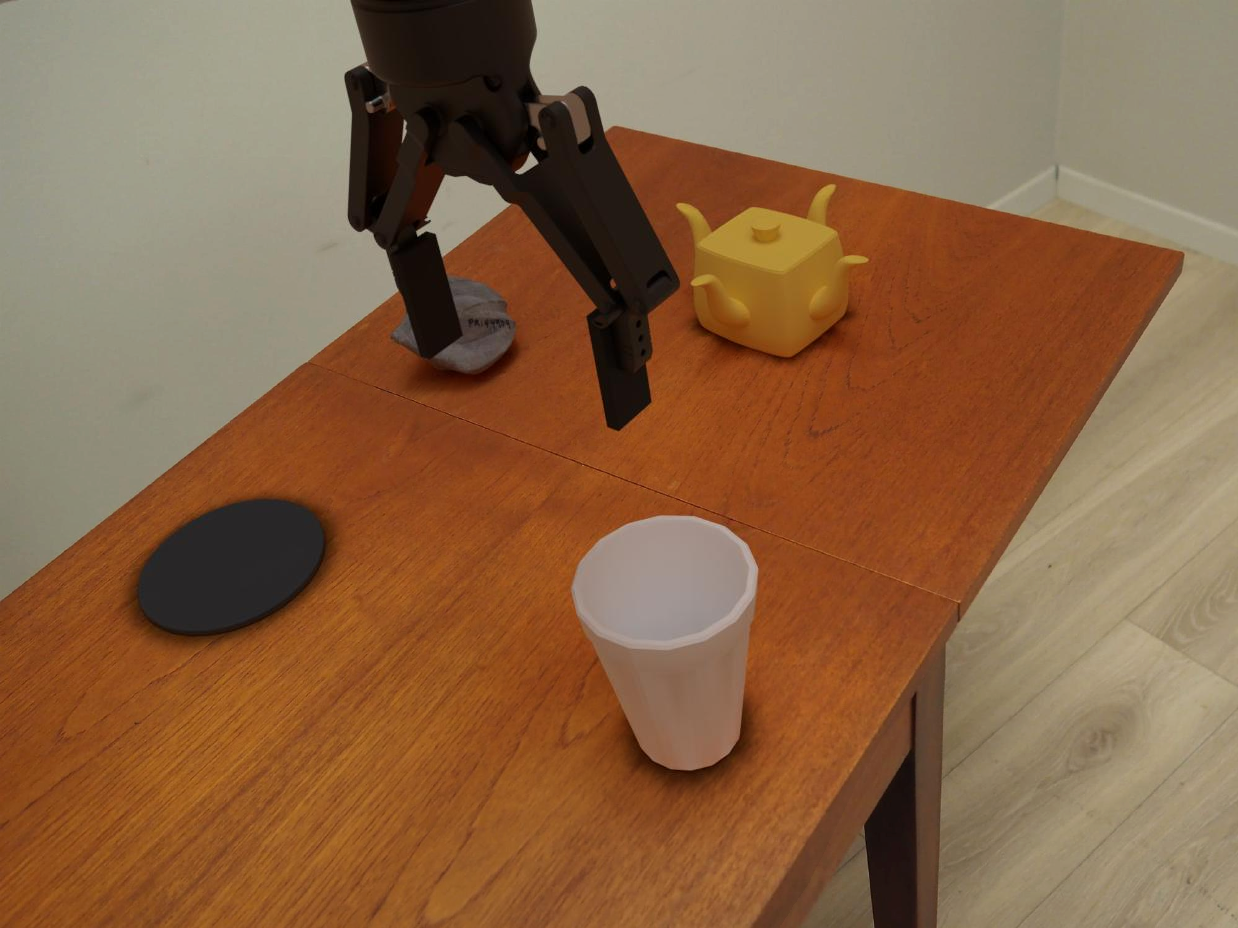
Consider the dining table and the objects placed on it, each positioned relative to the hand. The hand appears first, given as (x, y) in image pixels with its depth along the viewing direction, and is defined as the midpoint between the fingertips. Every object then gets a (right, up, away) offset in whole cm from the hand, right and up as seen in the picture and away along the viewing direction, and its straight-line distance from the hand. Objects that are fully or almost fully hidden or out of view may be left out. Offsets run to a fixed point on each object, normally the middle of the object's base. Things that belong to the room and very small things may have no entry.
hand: (530, 378), depth 62 cm
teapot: (+18, +8, +41) cm, 45 cm away
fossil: (-9, +4, +43) cm, 44 cm away
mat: (-24, -12, +25) cm, 37 cm away
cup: (+9, -21, +8) cm, 24 cm away
